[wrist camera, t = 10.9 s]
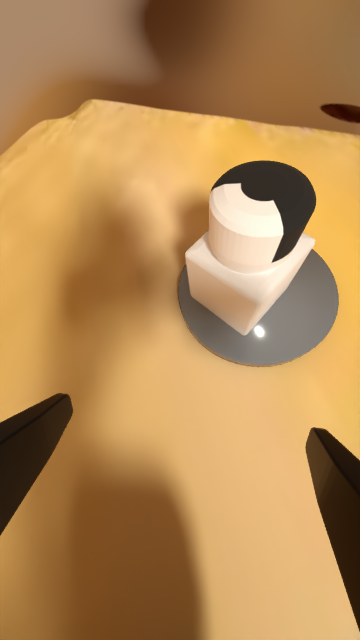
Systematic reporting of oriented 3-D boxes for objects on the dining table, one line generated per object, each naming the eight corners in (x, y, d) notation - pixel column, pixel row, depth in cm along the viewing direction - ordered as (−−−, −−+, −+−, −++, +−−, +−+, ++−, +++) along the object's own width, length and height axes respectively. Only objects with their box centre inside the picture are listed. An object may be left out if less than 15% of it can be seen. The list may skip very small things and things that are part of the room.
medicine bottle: (231, 253, 26) (249, 131, 15) (287, 288, 23) (360, 173, 12) (189, 296, 24) (174, 196, 13) (244, 338, 22) (282, 258, 11)
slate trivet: (362, 344, 22) (372, 339, 20) (199, 384, 22) (199, 382, 21) (292, 224, 28) (296, 214, 27) (167, 256, 28) (165, 248, 27)
